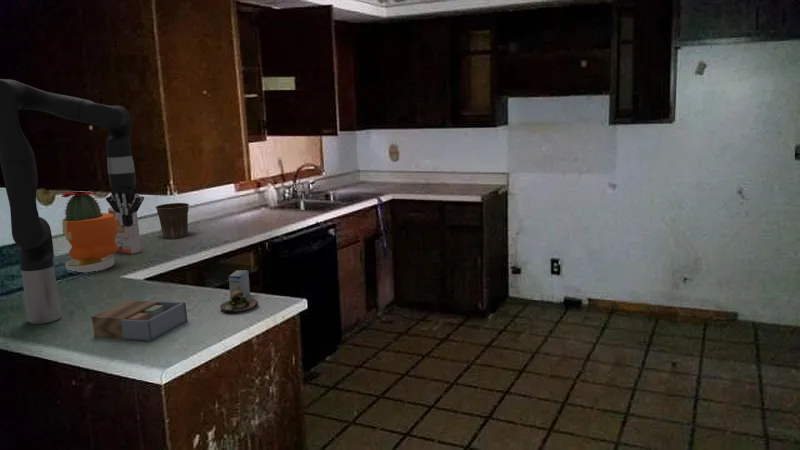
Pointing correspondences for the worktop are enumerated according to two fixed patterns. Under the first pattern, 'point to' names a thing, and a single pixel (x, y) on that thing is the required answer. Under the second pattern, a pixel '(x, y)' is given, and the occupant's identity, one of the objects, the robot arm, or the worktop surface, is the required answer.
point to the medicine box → (239, 282)
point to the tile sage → (154, 311)
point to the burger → (238, 303)
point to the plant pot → (173, 219)
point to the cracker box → (127, 234)
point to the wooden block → (118, 318)
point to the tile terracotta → (139, 316)
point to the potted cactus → (88, 233)
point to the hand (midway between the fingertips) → (128, 226)
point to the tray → (155, 323)
